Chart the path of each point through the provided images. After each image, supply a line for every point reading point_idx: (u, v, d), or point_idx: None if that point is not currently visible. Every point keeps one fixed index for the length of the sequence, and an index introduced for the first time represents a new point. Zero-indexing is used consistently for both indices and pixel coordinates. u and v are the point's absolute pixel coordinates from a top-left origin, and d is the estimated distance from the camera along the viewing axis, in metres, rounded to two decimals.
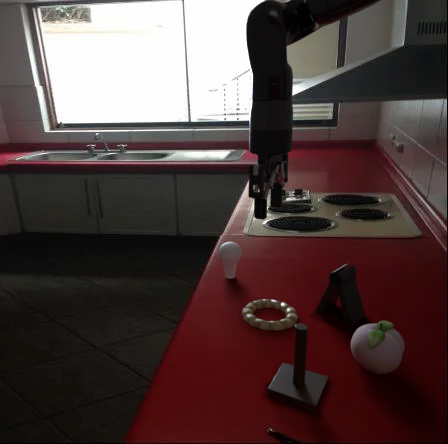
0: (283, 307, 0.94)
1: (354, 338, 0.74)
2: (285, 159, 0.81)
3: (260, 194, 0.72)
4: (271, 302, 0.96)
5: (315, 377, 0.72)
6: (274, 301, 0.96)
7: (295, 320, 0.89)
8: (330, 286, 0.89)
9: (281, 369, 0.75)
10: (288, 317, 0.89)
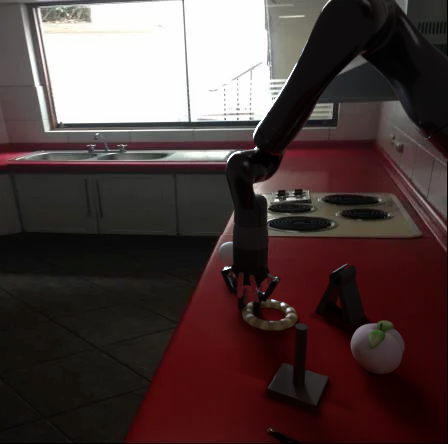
0: (283, 307, 0.94)
1: (354, 338, 0.74)
2: (271, 283, 0.89)
3: None
4: (271, 302, 0.96)
5: (315, 377, 0.72)
6: (274, 301, 0.96)
7: (295, 320, 0.89)
8: (330, 286, 0.89)
9: (281, 369, 0.75)
10: (288, 317, 0.89)
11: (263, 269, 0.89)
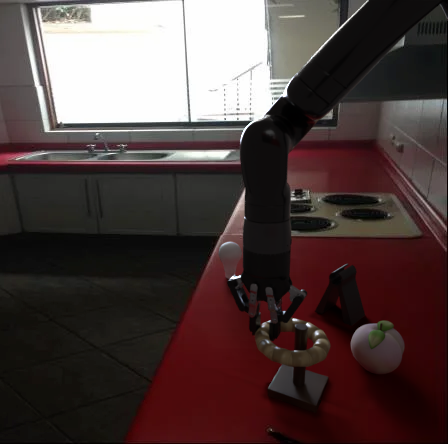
0: (309, 329, 0.71)
1: (354, 338, 0.74)
2: (294, 299, 0.66)
3: None
4: (292, 322, 0.73)
5: (315, 377, 0.72)
6: (296, 321, 0.73)
7: (327, 349, 0.66)
8: (330, 286, 0.89)
9: (281, 369, 0.75)
10: (318, 345, 0.66)
11: (284, 280, 0.66)
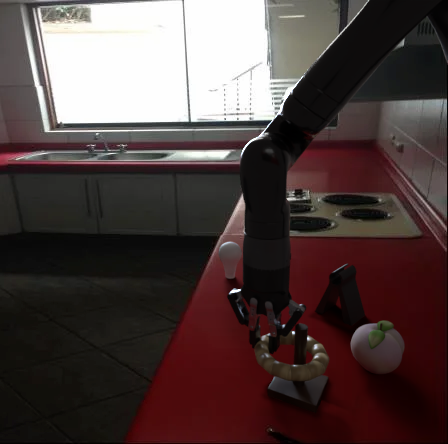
0: (308, 343, 0.72)
1: (354, 338, 0.74)
2: (294, 313, 0.67)
3: None
4: (292, 335, 0.74)
5: None
6: None
7: (326, 363, 0.67)
8: (330, 286, 0.89)
9: None
10: (317, 359, 0.67)
11: (284, 294, 0.67)
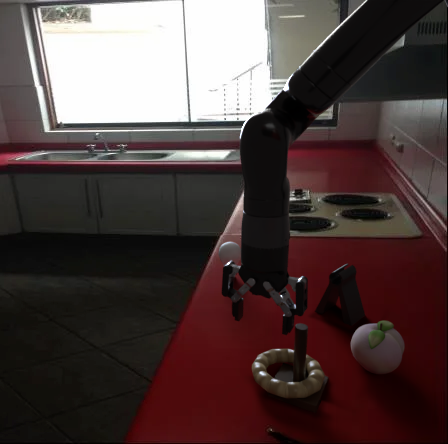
0: None
1: (354, 338, 0.74)
2: (296, 287, 0.65)
3: (222, 290, 0.73)
4: (288, 353, 0.76)
5: None
6: (291, 351, 0.76)
7: (322, 380, 0.69)
8: (330, 286, 0.89)
9: (281, 369, 0.75)
10: (312, 376, 0.69)
11: (282, 274, 0.66)
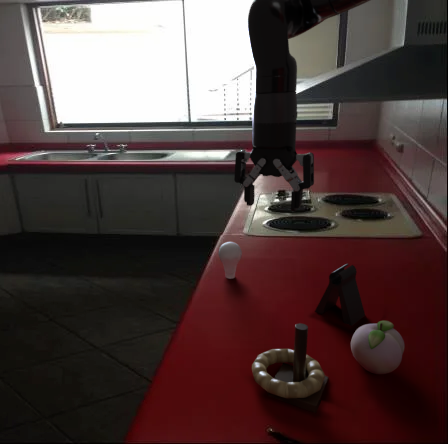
0: None
1: (354, 338, 0.74)
2: (303, 160, 0.72)
3: None
4: (288, 353, 0.76)
5: None
6: (291, 351, 0.76)
7: (322, 380, 0.69)
8: (330, 286, 0.89)
9: (281, 369, 0.75)
10: (312, 376, 0.69)
11: (290, 150, 0.73)
